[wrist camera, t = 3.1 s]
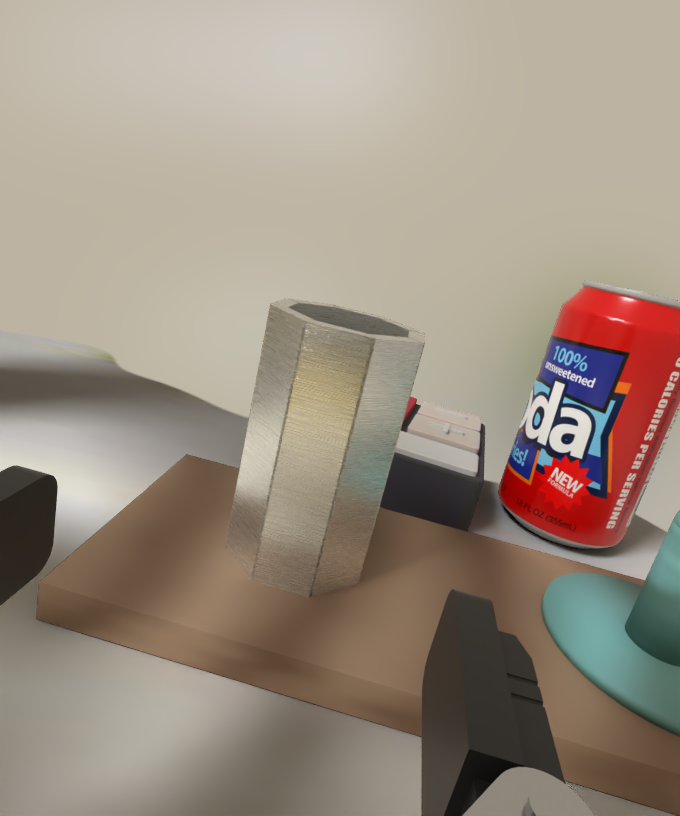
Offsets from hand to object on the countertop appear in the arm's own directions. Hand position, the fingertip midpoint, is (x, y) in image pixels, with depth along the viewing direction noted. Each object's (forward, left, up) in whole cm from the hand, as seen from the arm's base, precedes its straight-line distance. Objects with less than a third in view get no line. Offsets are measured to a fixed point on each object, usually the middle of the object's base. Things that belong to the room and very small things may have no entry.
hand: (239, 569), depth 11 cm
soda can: (-7, +28, -8) cm, 30 cm away
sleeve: (-8, +8, -6) cm, 13 cm away
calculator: (-17, +23, -8) cm, 30 cm away
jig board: (-3, +13, -8) cm, 16 cm away
